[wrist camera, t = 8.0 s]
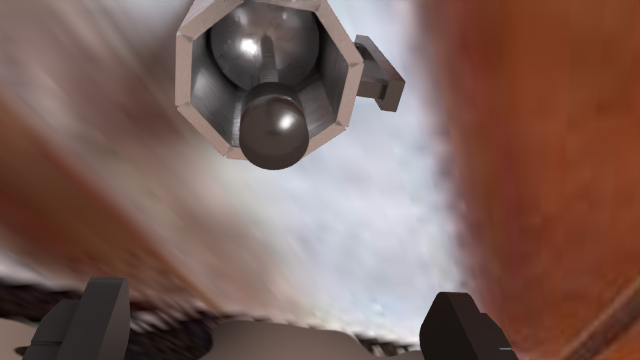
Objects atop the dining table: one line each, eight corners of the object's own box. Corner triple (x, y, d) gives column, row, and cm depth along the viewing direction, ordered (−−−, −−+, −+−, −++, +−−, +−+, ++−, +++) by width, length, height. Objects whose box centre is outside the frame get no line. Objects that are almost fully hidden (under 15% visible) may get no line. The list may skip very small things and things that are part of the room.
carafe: (205, -59, 31) (177, -32, 20) (372, -24, 34) (433, 17, 23) (199, 71, 37) (173, 152, 25) (344, 92, 39) (382, 174, 28)
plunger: (215, -27, 28) (184, 36, 15) (327, -6, 30) (382, 67, 17) (209, 82, 32) (180, 204, 19) (307, 95, 34) (340, 216, 21)
